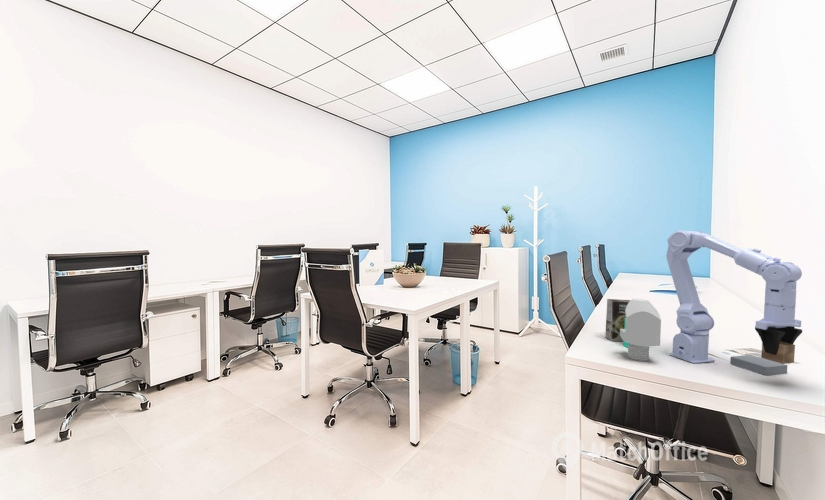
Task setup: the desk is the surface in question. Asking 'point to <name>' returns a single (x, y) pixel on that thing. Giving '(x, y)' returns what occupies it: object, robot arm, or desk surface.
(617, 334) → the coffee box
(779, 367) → the plinth
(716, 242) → the robot arm
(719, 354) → the desk surface
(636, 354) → the light fixture
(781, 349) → the block
